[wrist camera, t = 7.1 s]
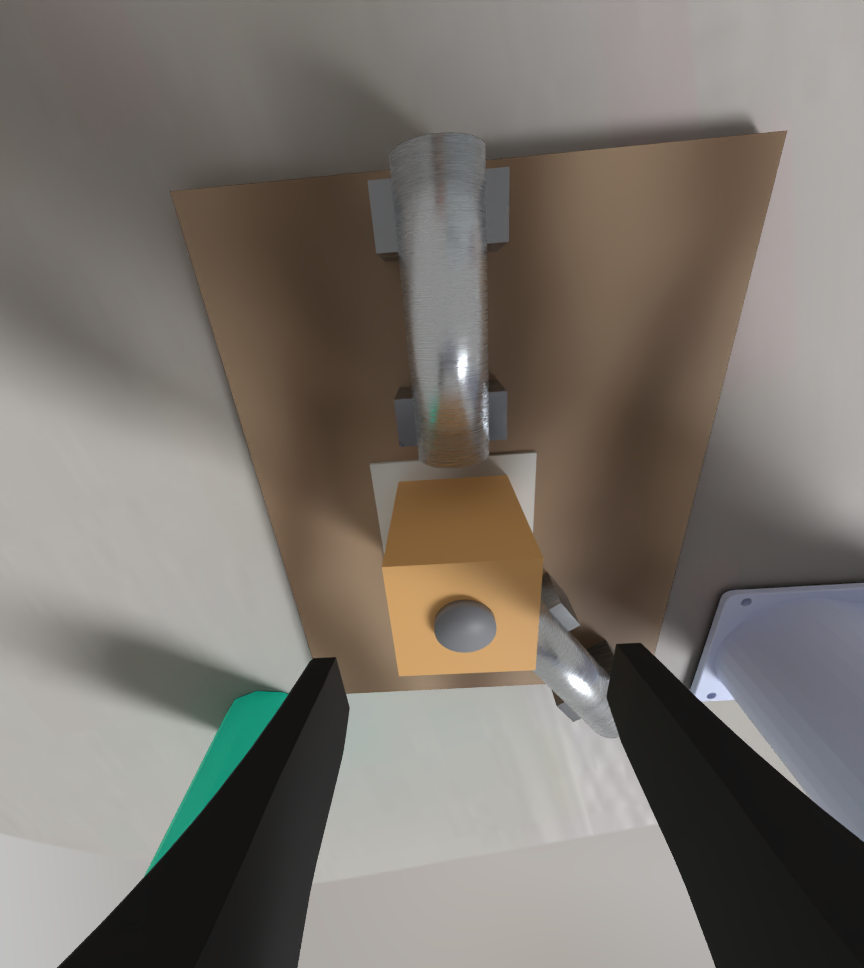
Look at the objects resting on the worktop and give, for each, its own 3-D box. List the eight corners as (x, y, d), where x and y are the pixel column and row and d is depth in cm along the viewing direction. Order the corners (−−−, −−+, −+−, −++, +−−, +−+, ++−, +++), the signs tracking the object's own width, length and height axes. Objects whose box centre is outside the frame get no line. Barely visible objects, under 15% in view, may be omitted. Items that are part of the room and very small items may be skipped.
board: (764, 141, 11) (792, 128, 10) (640, 666, 21) (649, 681, 20) (185, 198, 12) (166, 189, 11) (327, 681, 22) (323, 697, 21)
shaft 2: (480, 604, 18) (488, 660, 15) (543, 566, 17) (565, 619, 14) (564, 689, 21) (586, 750, 18) (623, 660, 20) (656, 721, 17)
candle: (250, 755, 25) (112, 1098, 14) (209, 697, 23) (3, 1061, 12) (336, 744, 25) (260, 1091, 14) (304, 683, 22) (179, 1051, 11)
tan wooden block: (505, 563, 17) (537, 678, 12) (408, 568, 17) (397, 684, 12) (507, 475, 15) (546, 565, 10) (398, 481, 15) (380, 574, 10)
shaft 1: (375, 183, 11) (356, 141, 8) (497, 172, 11) (519, 124, 8) (405, 439, 15) (398, 472, 12) (497, 432, 14) (513, 463, 12)
